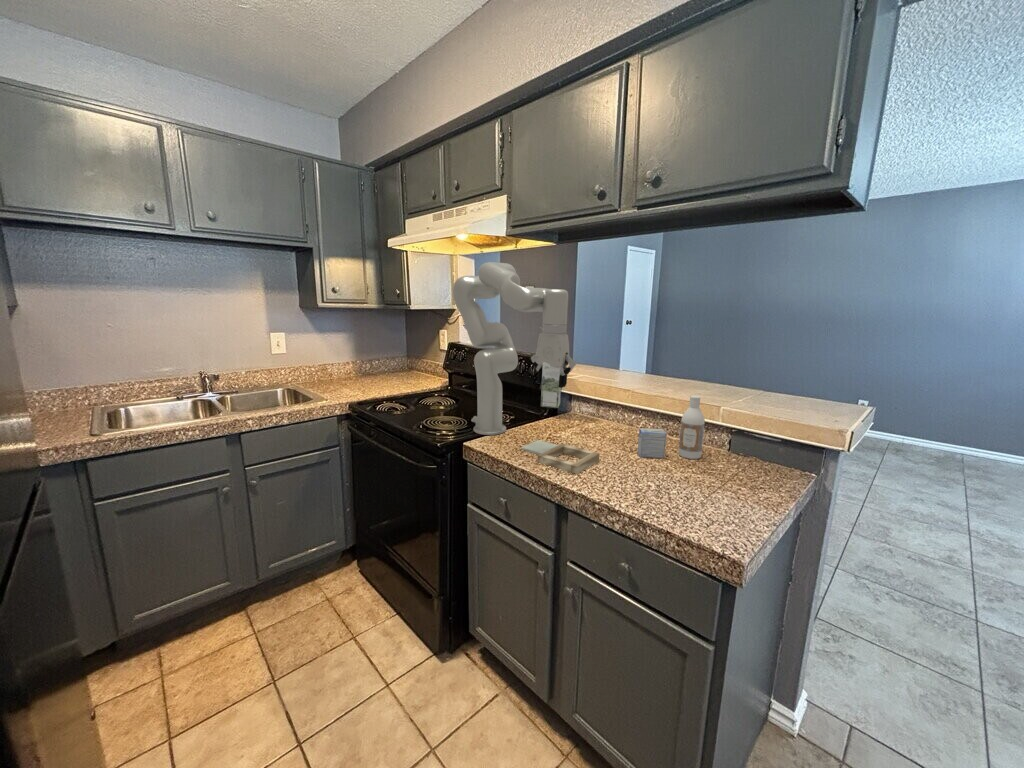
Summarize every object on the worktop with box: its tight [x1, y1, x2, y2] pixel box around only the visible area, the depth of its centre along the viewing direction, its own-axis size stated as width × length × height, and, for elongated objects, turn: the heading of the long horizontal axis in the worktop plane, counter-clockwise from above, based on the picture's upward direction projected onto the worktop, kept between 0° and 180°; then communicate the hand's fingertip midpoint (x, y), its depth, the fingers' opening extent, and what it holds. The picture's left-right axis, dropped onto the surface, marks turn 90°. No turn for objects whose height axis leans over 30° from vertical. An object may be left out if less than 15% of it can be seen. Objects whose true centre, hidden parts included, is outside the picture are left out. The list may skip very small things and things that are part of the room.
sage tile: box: [520, 439, 559, 455], centre depth 142 cm, size 10×10×1 cm
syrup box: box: [540, 362, 562, 409], centre depth 134 cm, size 6×6×14 cm
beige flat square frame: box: [537, 443, 600, 475], centre depth 131 cm, size 14×14×2 cm
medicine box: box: [637, 427, 668, 459], centre depth 137 cm, size 8×4×9 cm, turn 84°
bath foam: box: [678, 395, 706, 460], centre depth 136 cm, size 7×7×20 cm
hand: (551, 384), depth 134 cm, fingers closed on syrup box, 7 cm apart
